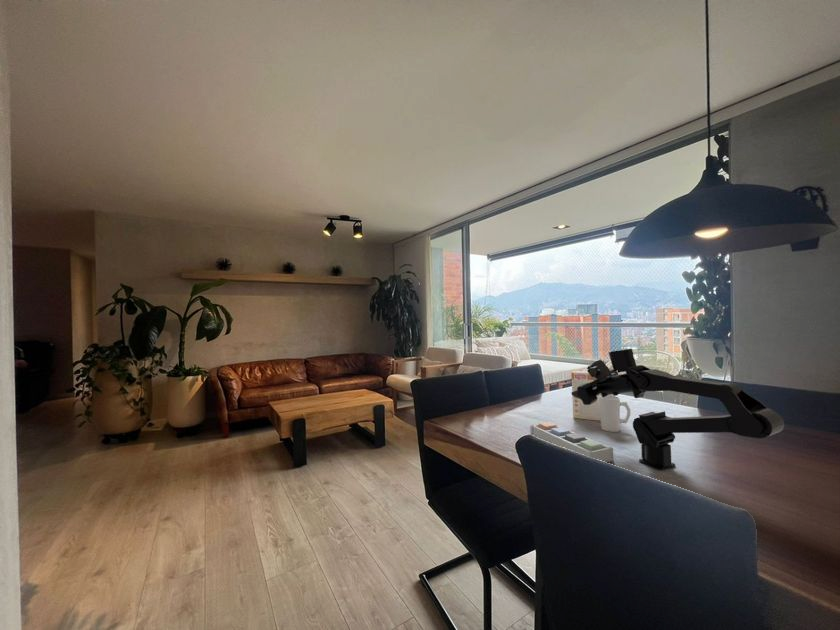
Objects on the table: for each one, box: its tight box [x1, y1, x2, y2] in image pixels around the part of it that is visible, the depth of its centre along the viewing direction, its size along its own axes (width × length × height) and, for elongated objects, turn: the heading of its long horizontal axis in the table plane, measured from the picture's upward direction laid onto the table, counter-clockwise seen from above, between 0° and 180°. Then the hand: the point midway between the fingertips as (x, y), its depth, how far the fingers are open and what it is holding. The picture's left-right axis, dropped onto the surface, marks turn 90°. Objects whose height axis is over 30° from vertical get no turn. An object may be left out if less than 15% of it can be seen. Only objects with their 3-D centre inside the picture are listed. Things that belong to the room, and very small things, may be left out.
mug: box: [599, 395, 631, 433], centre depth 129 cm, size 10×7×12 cm, turn 60°
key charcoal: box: [565, 432, 586, 444], centre depth 110 cm, size 4×4×2 cm
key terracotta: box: [538, 421, 557, 431], centre depth 123 cm, size 4×4×2 cm
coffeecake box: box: [571, 369, 613, 422], centre depth 143 cm, size 15×7×20 cm, turn 59°
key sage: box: [580, 438, 603, 451], centre depth 104 cm, size 4×4×2 cm
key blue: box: [551, 426, 571, 437], centre depth 116 cm, size 4×4×2 cm
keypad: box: [529, 421, 614, 463], centre depth 113 cm, size 27×9×4 cm, turn 19°
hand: (580, 389), depth 122 cm, fingers open, 9 cm apart
